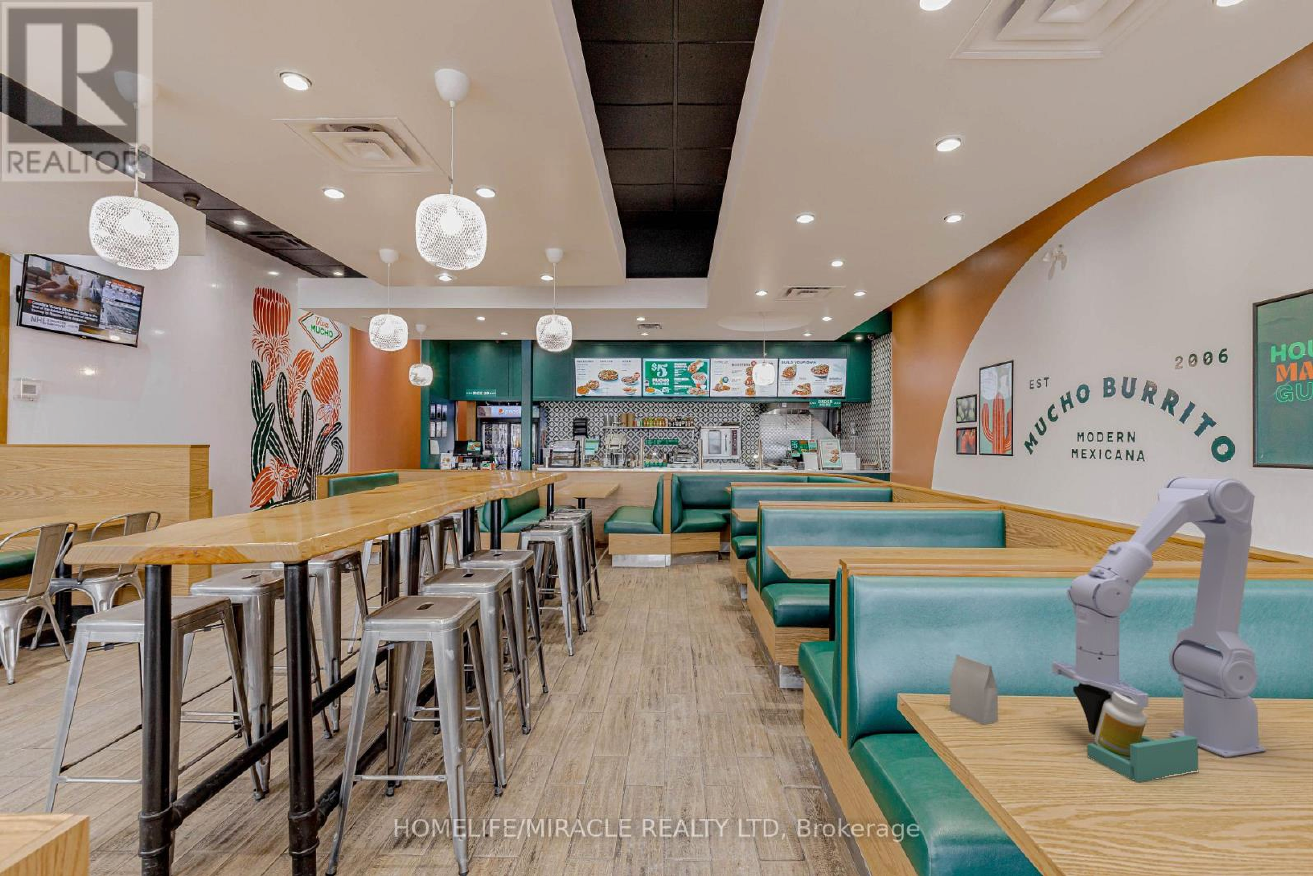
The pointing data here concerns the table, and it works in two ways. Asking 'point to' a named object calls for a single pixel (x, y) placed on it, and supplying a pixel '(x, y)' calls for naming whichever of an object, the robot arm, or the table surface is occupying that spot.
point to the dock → (1151, 758)
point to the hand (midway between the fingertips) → (1096, 733)
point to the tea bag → (973, 691)
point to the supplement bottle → (1120, 725)
